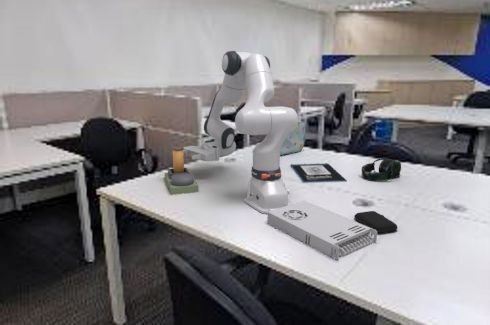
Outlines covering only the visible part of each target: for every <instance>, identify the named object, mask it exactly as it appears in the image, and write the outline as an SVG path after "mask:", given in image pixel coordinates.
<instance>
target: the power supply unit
mask: <svg viewBox="0 0 490 325" xmlns="http://www.w3.org/2000/svg"><path fill="white" fill-rule="evenodd" d="M266 222H267V224H268V225H271V226H272V227H274V228H276V229H278V230H280V231H281V232H284V233H285V234H287V235H289V236H291V237H293V238H294V239H297V240H299V242H300V241H301V242H302V243H304V244H306V245H307V246H308V245H309V246H310V247H312V248H313V249H316V250H317V251H319V252H321V253H322V254H325V255H327V256H328V257H332V258H333V259H335V260H336V261H339V260H340V259H342V258H344V257H347V256H348V255H351V254H353V253H355V252H358V251H360V250H362V249H364V248H366V247H369V246H370V245H373V244H377V241H378V240H377V239H378V234H377V231H376V230H375V229H372V228H370V227H367V226H365V225H362V224H361V223H359V222H358V221H355V220H353V219H350V218H348V217H345V216H343V215H340V214H339V213H336V212H333V211H330V210H329V209H326V208H323V207H321V206H319V205H316V204H314V203H312V202H310V201H307V200H303V201H298V202H296V203H292V204H291V205H288V206H285V207H281V208H278V209H275V210H271V211H268V214H267V220H266ZM372 243H373V244H372Z"/></svg>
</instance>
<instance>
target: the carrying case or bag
mask: <svg viewBox="0 0 490 325" xmlns="http://www.w3.org/2000/svg"><path fill="white" fill-rule="evenodd" d="M353 216H354V220H356V222H358V223H360V224H362V225H365V226H367V227H370V228H372V229H375V230H376V231H377V235H380V234H386V232H387V233H391V232H392V231H393V232H395V231H397V230H398V225H397V224H396V223H395V222H394V221H392V220H391V219H389V218H387V217H386V216H385V215H383V214H380V213H378V211H375V210H368V211H362V212H361V211H360V212H357V213H356V214H354V215H353ZM393 232H392V233H393Z"/></svg>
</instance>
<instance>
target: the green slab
mask: <svg viewBox="0 0 490 325" xmlns="http://www.w3.org/2000/svg"><path fill="white" fill-rule="evenodd" d="M194 176H195V175H194V174H192V173H191V171H190V170H189V169H188V168H187V167H184V173H174V171H173V168H168V169H167V172H164V180H165V182H167V183H166V185H167V187H169V188H168V189H169V192H170V194H171V196H173V194H174V195H183V194H182V193H184V194H191V193H192V194H193V193H199V184H198V182H197V181H196V180H195V178H194Z"/></svg>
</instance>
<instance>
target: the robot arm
mask: <svg viewBox="0 0 490 325" xmlns="http://www.w3.org/2000/svg"><path fill="white" fill-rule="evenodd" d="M221 69H222V71H223V72H224V77H223V81H222V84H221V85H222V86H221V87H220V89H219V90H217V92H216V93H215V95H214V98H213V101H212V104H211V105H210V109H209V112H208V116H207V117H206V118H205V121H204V123H203V130H204V131H203V132H204V133H205V134H206V135H208V136H210V137H212V138H213V139H214V140H213V141H208V142H204V143H201V145H200V146H198V145H197V146H196V145H188V146H183V147H184V150H183V155H184V156H188V157H190V160H201V161H202V162H203V161H204V162H214V161H215V162H218V161H220V158H224V157H228V156H229V155H232V154H234V152H235V151H236V149H237V144H236V142H235V137H236V132H235V131H236V130H237V132H239V133H240V135H247V136H248V135H249V136H262V135H265V138H264V139H263V140H262V141H261V142H259V143H258V144H256V145H255V147H254V148H253V149H252V166H251V178H250V179H249V181H248V185H247V194H246V196H247V197H245V198H244V200H243V202H244V203H246V204H247V205H248V206H250V207H252V208H253V209H254V210H256V211H258V212H259V213H261V214H267V215H268V211H271V210H275V209H278V208H281V207H285V206H288V205H291V204H293V203H292V202H291V200H290V199H289V195H290V189H289V188H286V183H284V181H283V179H282V170H281V167H280V165H281V164H280V162H281V155H280V152H281V148H282V145H283V143H284V141H285V139H286V138H287V136H288V135H289V134H290V133H291V132H292V131H294V130H295V128H296V127H297V124H298V120H299V115H298V113H297V112H296V110H295V109H294V108H292V107H287V106H265V104H266V103H268V102H269V101H270V100H272V99H273V98H274V96H275V84H274V81H273V76H272V71H271V62H270V59H269V58H268V57H267V56H266V55H264V54H261V53H253V52H248V51H235V50H229V51H226V52H225V53H224V54H223V57H222V58H221ZM245 92H246V93H247V94H246V95H247V98H246V102H245V104H244V106H243V107H242V108H241V109H239V110H238V111H237V113H236V115H235V119H234V125H235V128H236V130H235V129H234V128H233V127H231V126H230V125H229V124H227V123H225V122H224V121H222V119H221V115H222V112H223V109H224V106H225V105H226V104H234V103H238V102H240V101H241V100H242V99H243V97H244V95H245Z"/></svg>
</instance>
